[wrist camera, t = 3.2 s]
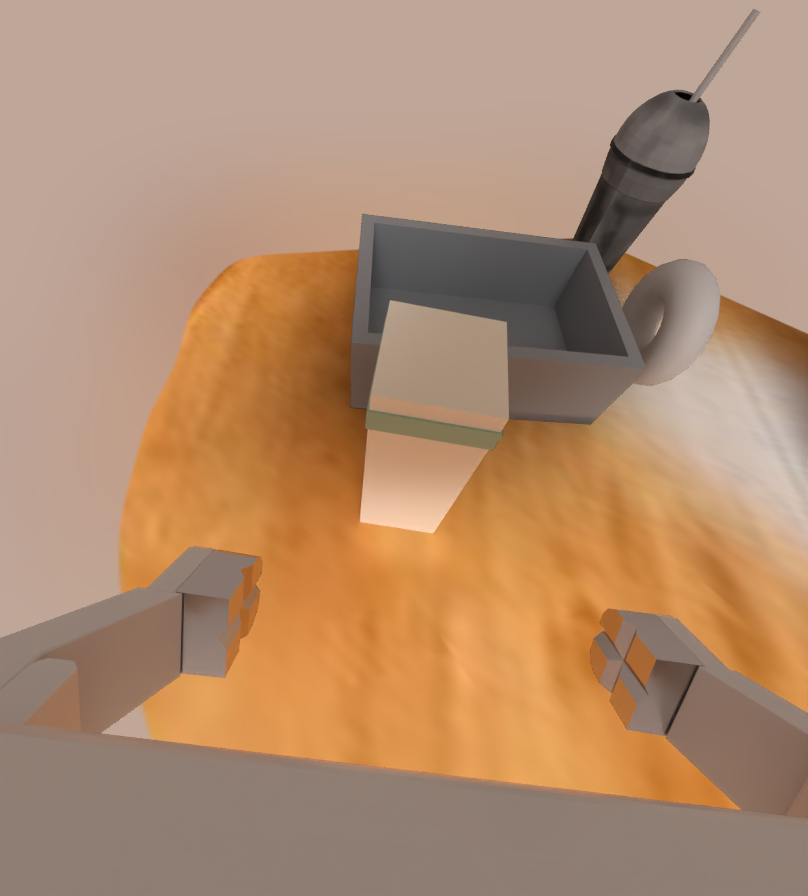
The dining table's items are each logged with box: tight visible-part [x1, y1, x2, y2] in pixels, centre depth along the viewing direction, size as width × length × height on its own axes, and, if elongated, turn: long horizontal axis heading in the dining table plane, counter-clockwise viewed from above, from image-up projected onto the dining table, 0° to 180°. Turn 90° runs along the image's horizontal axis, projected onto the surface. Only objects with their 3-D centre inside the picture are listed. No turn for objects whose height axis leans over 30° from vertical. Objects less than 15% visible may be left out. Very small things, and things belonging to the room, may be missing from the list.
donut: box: [622, 259, 720, 386], centre depth 32 cm, size 10×3×10 cm, turn 174°
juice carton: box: [360, 300, 509, 533], centre depth 21 cm, size 5×5×14 cm
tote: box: [350, 214, 647, 424], centre depth 31 cm, size 20×14×7 cm
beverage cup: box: [573, 9, 760, 273], centre depth 34 cm, size 7×7×20 cm
